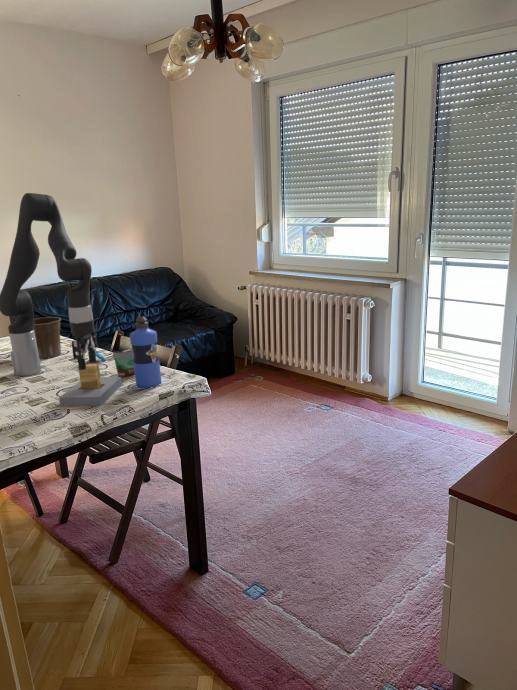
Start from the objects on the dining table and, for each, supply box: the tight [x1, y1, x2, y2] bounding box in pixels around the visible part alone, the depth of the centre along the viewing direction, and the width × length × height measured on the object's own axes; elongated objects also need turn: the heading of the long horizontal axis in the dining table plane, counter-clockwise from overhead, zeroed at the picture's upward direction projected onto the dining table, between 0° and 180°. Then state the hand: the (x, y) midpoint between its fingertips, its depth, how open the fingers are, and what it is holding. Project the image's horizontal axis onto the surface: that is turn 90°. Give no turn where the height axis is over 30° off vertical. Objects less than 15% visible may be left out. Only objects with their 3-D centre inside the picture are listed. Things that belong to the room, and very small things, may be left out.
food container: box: [112, 347, 135, 378], centre depth 201 cm, size 12×6×10 cm, turn 148°
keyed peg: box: [77, 362, 102, 389], centre depth 180 cm, size 3×6×11 cm, turn 84°
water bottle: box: [129, 315, 162, 389], centre depth 186 cm, size 9×9×25 cm
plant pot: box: [34, 316, 62, 360], centre depth 234 cm, size 16×16×16 cm
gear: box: [87, 350, 107, 364], centre depth 221 cm, size 11×6×10 cm
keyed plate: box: [58, 376, 123, 407], centre depth 181 cm, size 14×20×3 cm
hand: (87, 365), depth 179 cm, fingers open, 8 cm apart
